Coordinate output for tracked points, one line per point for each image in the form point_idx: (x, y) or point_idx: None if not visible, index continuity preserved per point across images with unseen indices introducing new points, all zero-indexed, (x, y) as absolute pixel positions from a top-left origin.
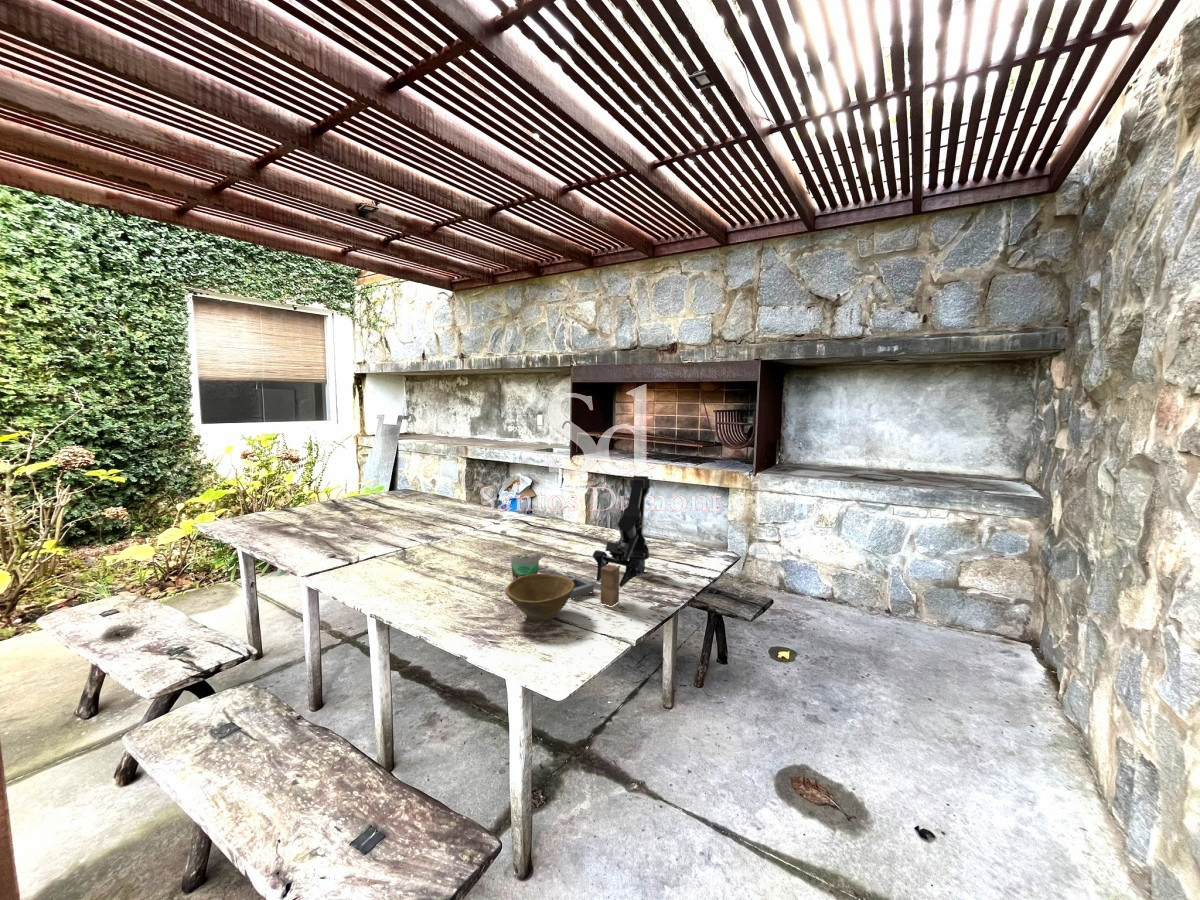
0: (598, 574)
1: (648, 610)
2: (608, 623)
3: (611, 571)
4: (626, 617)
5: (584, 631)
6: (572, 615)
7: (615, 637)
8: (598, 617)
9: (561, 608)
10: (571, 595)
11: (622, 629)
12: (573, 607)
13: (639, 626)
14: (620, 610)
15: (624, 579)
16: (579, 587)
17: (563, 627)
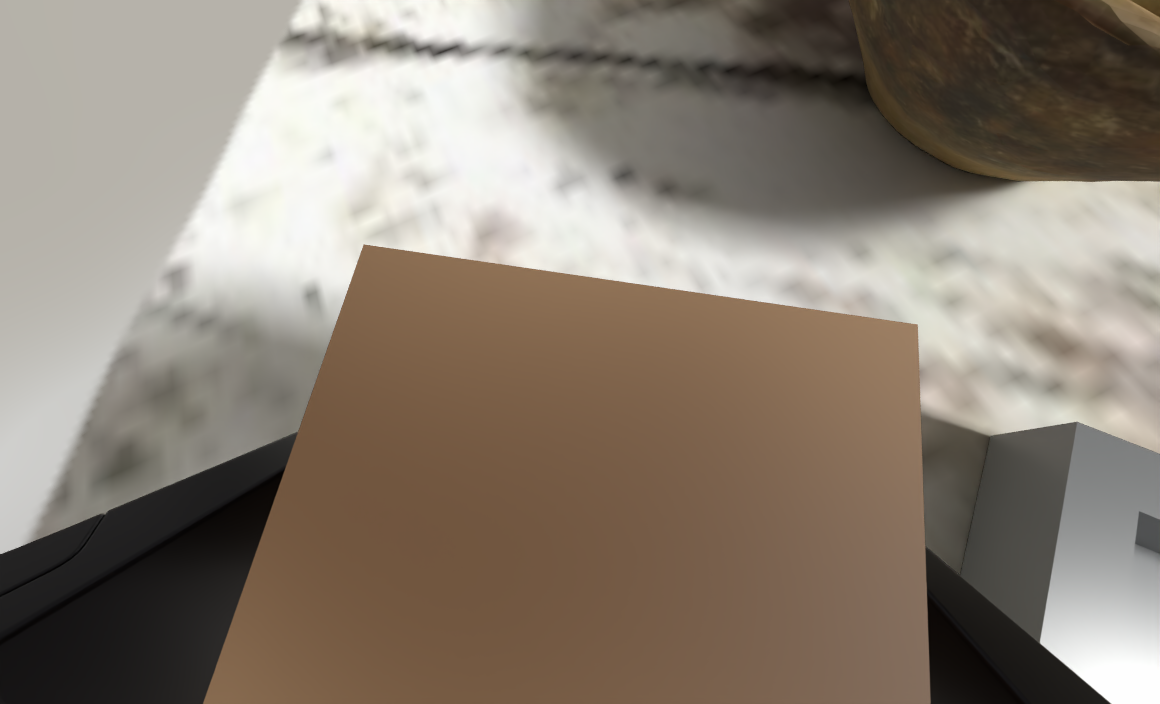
0: (947, 595)
1: None
2: (464, 178)
3: (404, 261)
4: None
5: (572, 31)
6: (774, 172)
7: (361, 49)
8: (573, 227)
9: (856, 26)
10: (1035, 432)
11: (342, 147)
12: (860, 295)
13: (230, 232)
14: None
15: (180, 487)
16: (1099, 597)
17: (723, 18)
